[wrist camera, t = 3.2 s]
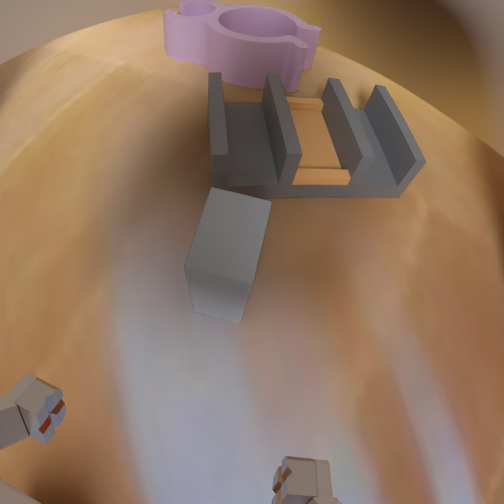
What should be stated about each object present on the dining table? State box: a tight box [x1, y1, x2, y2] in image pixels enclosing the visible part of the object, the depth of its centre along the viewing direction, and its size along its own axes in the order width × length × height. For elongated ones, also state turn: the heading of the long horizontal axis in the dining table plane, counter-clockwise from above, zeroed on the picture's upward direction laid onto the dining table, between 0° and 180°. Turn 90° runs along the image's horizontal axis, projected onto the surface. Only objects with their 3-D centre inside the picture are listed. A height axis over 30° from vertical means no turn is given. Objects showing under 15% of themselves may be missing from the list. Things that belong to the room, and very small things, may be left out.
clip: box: [163, 0, 321, 92], centre depth 36 cm, size 20×12×7 cm, turn 67°
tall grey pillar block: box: [184, 187, 272, 323], centre depth 21 cm, size 4×5×9 cm
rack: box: [208, 72, 426, 198], centre depth 29 cm, size 19×11×6 cm, turn 96°
